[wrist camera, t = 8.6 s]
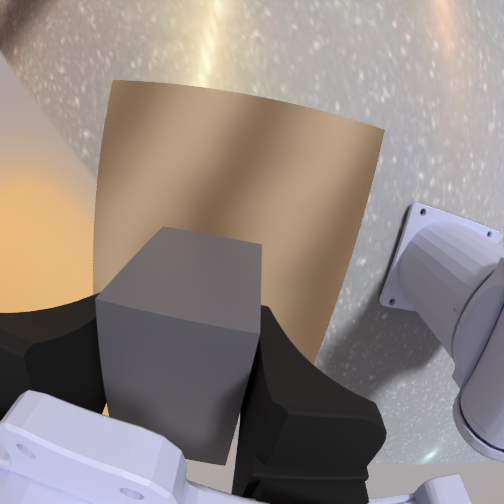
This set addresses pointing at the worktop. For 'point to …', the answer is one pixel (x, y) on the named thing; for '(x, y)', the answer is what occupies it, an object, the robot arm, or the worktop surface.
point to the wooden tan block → (237, 189)
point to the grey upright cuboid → (182, 338)
